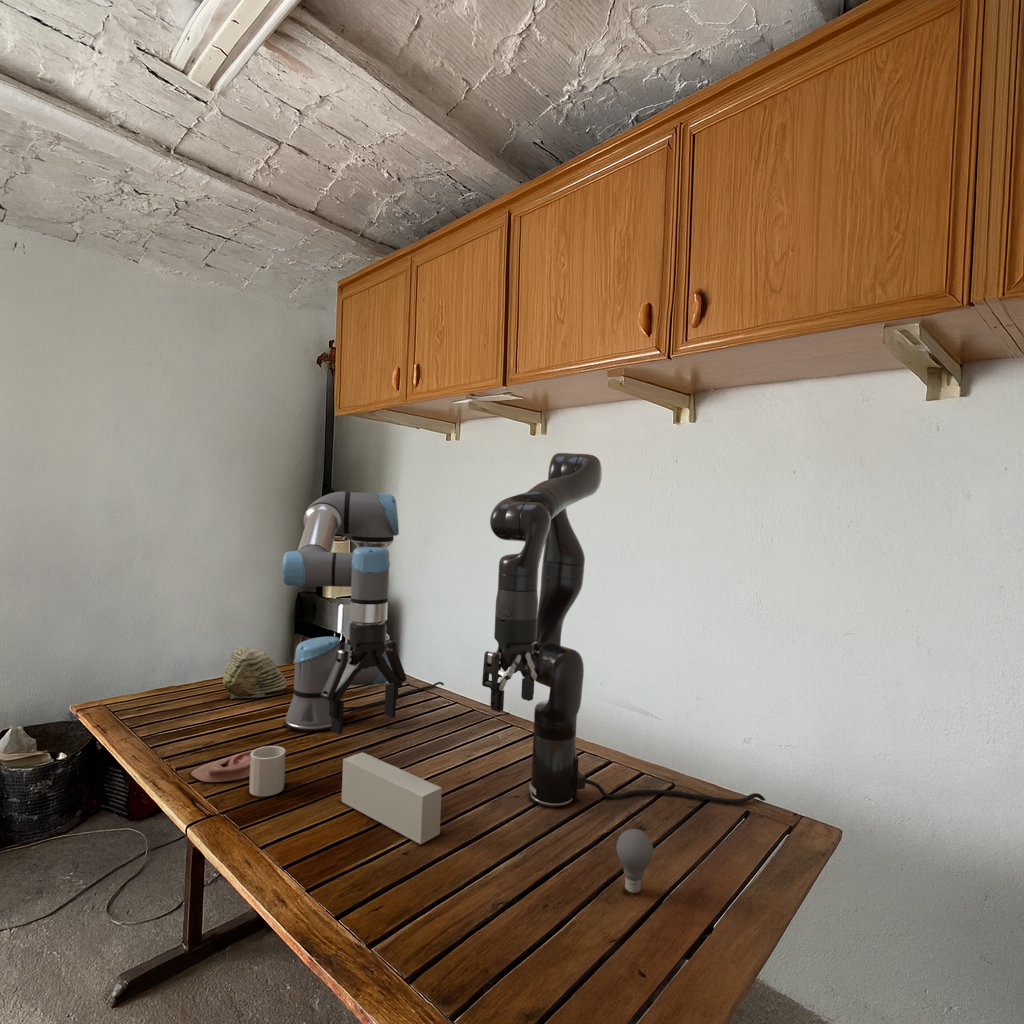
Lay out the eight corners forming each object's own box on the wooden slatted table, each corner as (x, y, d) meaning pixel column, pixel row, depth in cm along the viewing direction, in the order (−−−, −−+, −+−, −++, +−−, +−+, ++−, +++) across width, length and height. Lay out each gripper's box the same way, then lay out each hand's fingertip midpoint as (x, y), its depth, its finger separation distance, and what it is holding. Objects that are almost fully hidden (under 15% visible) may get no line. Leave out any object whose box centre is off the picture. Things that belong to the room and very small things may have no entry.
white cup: (272, 778, 141) (274, 743, 141) (290, 788, 137) (291, 752, 137) (242, 789, 136) (244, 752, 136) (260, 799, 131) (261, 761, 131)
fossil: (218, 695, 195) (220, 647, 195) (278, 685, 208) (279, 640, 207) (228, 703, 189) (230, 653, 188) (289, 692, 201) (290, 645, 201)
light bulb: (610, 879, 108) (613, 822, 108) (644, 879, 109) (647, 822, 109) (619, 902, 102) (622, 840, 102) (655, 901, 103) (658, 840, 103)
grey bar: (341, 801, 132) (343, 758, 132) (360, 793, 136) (362, 752, 136) (420, 844, 117) (422, 796, 117) (439, 834, 121) (441, 787, 121)
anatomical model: (182, 760, 139) (216, 741, 150) (181, 778, 139) (216, 758, 150) (236, 768, 136) (267, 748, 147) (235, 786, 136) (266, 765, 147)
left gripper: (402, 612, 143) (398, 706, 144) (304, 626, 124) (300, 734, 124) (425, 617, 138) (421, 714, 139) (327, 633, 119) (323, 745, 119)
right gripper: (524, 607, 120) (520, 692, 120) (473, 615, 109) (469, 709, 109) (556, 612, 115) (552, 701, 116) (507, 622, 104) (503, 720, 104)
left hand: (364, 724), depth 131 cm, fingers open, 13 cm apart
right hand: (512, 705), depth 112 cm, fingers open, 8 cm apart
